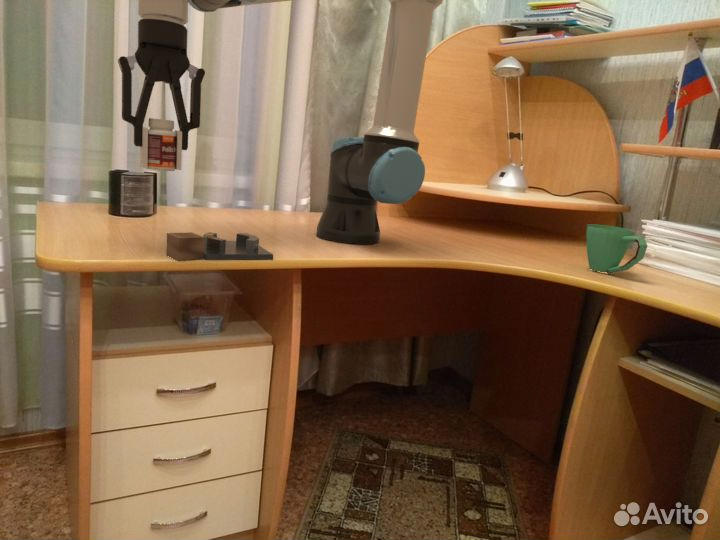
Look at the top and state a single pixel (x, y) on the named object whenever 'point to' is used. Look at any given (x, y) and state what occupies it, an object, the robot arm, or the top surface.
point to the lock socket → (234, 248)
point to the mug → (611, 247)
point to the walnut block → (185, 246)
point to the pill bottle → (161, 145)
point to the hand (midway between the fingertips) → (160, 167)
